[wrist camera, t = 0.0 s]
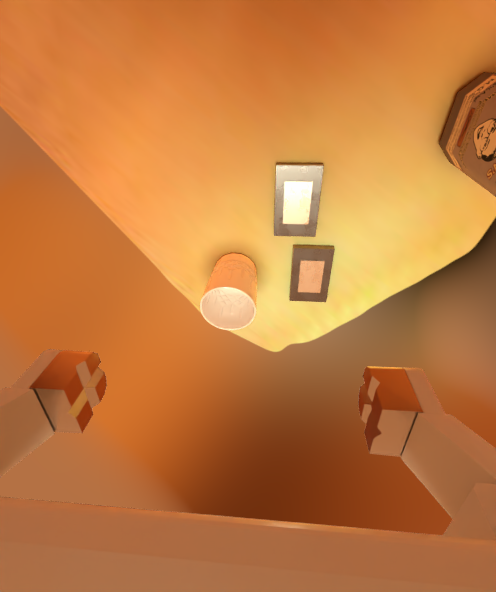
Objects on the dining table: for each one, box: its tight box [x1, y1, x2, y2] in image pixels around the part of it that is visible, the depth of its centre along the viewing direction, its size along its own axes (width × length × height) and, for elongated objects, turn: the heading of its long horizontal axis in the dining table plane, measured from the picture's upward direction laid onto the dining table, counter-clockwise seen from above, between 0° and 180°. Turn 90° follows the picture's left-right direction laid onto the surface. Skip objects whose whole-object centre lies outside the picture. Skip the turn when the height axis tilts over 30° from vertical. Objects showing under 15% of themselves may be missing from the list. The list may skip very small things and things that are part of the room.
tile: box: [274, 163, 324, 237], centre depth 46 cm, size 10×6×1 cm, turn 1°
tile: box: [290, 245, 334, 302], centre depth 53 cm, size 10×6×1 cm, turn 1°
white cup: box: [200, 253, 257, 330], centre depth 51 cm, size 8×8×10 cm
